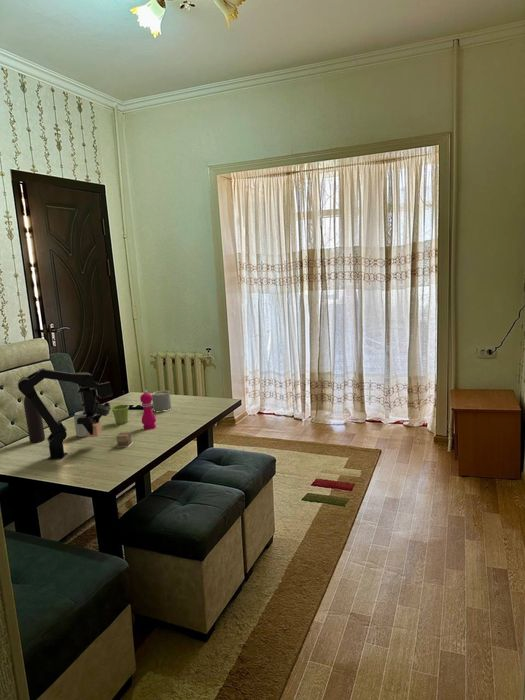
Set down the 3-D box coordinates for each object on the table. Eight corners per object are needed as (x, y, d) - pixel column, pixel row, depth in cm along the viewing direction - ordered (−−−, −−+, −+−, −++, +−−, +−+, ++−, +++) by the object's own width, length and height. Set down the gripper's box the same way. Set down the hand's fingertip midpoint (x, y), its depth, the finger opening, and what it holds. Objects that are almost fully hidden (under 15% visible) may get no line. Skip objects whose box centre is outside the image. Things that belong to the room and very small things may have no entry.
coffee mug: (174, 407, 287) (172, 390, 285) (166, 412, 277) (164, 395, 276) (154, 406, 291) (152, 390, 289) (145, 411, 282) (143, 395, 280)
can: (87, 437, 244) (83, 414, 242) (73, 437, 245) (70, 414, 243) (95, 432, 251) (92, 410, 249) (81, 432, 253) (78, 410, 251)
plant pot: (132, 423, 262) (130, 407, 261) (113, 426, 259) (111, 410, 257) (129, 418, 271) (128, 403, 269) (112, 421, 267) (110, 406, 266)
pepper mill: (142, 431, 247) (138, 393, 244) (142, 427, 254) (137, 389, 251) (157, 429, 249) (153, 391, 245) (156, 425, 256) (152, 387, 252)
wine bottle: (48, 438, 248) (39, 380, 242) (38, 443, 241) (29, 383, 236) (36, 437, 250) (27, 380, 244) (26, 442, 243) (17, 384, 238)
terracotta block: (97, 436, 225) (96, 426, 224) (87, 437, 225) (85, 426, 224) (101, 432, 230) (100, 422, 229) (91, 433, 230) (90, 423, 229)
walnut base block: (128, 446, 224) (127, 435, 224) (117, 446, 225) (116, 436, 224) (132, 442, 229) (130, 432, 228) (121, 442, 230) (120, 432, 229)
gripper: (98, 405, 215) (103, 439, 217) (114, 393, 233) (118, 425, 236) (73, 406, 216) (78, 440, 218) (91, 395, 234) (95, 426, 237)
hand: (94, 432), depth 227 cm, fingers closed on terracotta block, 5 cm apart
